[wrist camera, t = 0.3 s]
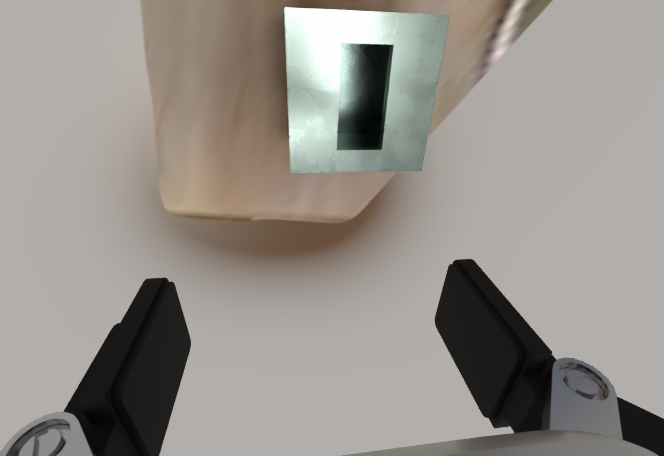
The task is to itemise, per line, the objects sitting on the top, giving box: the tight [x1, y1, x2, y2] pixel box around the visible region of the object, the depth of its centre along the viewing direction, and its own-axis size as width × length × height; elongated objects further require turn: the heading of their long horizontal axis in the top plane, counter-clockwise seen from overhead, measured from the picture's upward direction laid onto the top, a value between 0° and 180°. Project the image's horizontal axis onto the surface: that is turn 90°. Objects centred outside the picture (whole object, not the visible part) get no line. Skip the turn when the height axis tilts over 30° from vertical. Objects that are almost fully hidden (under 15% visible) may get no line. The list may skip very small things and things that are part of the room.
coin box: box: [284, 7, 450, 173], centre depth 30 cm, size 12×12×11 cm
